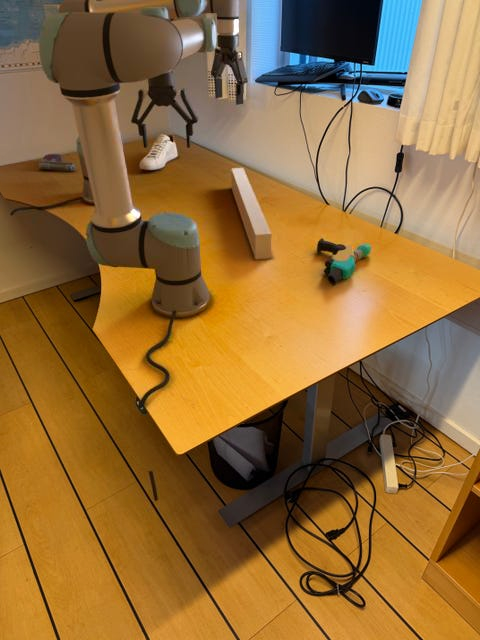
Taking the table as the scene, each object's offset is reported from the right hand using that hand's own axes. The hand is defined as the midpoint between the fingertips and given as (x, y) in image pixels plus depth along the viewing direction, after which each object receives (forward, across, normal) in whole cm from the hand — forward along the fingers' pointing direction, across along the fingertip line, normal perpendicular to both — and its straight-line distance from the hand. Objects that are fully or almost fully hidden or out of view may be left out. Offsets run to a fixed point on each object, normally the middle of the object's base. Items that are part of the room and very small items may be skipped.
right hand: (167, 146), depth 149 cm
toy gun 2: (+27, -52, +28) cm, 65 cm away
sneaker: (+26, +17, -65) cm, 72 cm away
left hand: (-6, -18, -37) cm, 42 cm away
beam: (+26, -25, -6) cm, 37 cm away
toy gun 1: (+26, +61, -61) cm, 90 cm away
